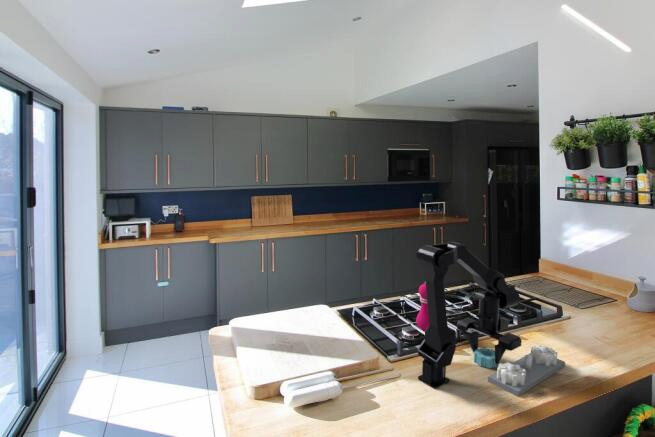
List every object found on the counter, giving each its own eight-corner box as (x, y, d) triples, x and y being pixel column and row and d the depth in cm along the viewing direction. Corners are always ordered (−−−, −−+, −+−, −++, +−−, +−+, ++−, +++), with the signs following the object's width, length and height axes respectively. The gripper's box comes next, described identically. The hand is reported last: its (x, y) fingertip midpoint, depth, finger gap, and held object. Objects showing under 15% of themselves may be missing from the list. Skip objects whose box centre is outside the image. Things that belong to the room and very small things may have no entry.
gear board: (518, 396, 107) (519, 377, 106) (487, 381, 114) (488, 363, 113) (564, 366, 122) (566, 349, 121) (535, 354, 129) (536, 338, 128)
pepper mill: (436, 338, 141) (438, 283, 138) (416, 336, 143) (417, 282, 139) (435, 329, 148) (437, 277, 145) (415, 327, 150) (417, 276, 146)
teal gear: (489, 370, 120) (490, 361, 119) (468, 360, 126) (469, 352, 125) (503, 363, 124) (503, 354, 123) (482, 354, 130) (483, 345, 129)
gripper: (533, 314, 119) (529, 363, 122) (477, 296, 134) (475, 340, 137) (512, 323, 113) (508, 375, 115) (456, 304, 128) (454, 349, 130)
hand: (486, 358), depth 125 cm, fingers closed on teal gear, 7 cm apart
